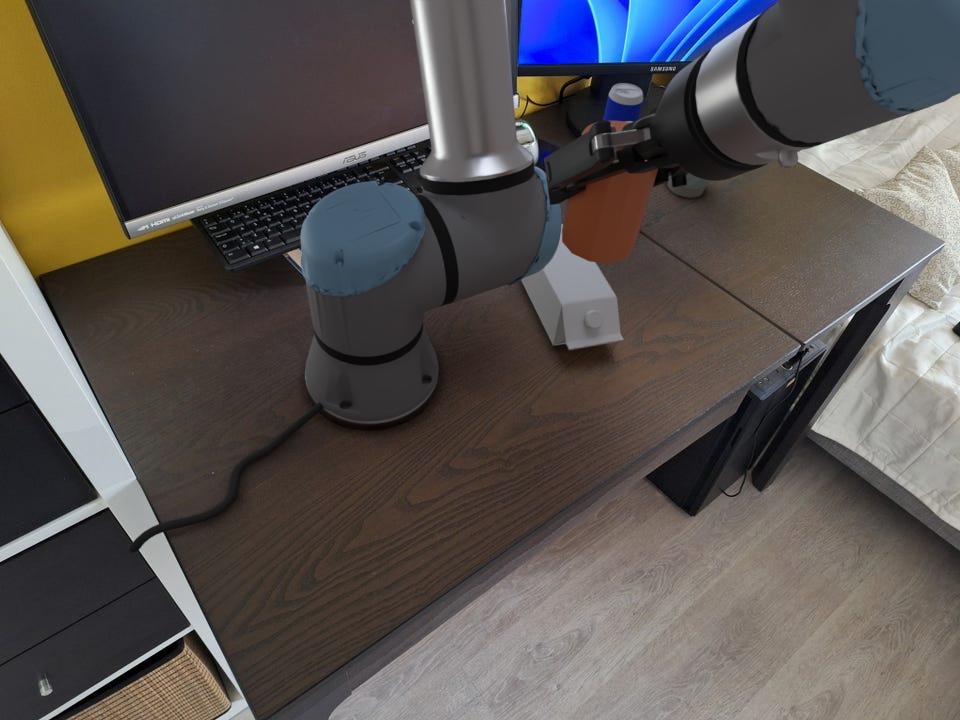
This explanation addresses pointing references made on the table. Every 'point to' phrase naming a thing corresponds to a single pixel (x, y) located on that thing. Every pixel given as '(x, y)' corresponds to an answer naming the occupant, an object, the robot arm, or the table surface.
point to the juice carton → (574, 301)
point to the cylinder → (607, 214)
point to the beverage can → (623, 103)
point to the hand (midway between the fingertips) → (590, 185)
